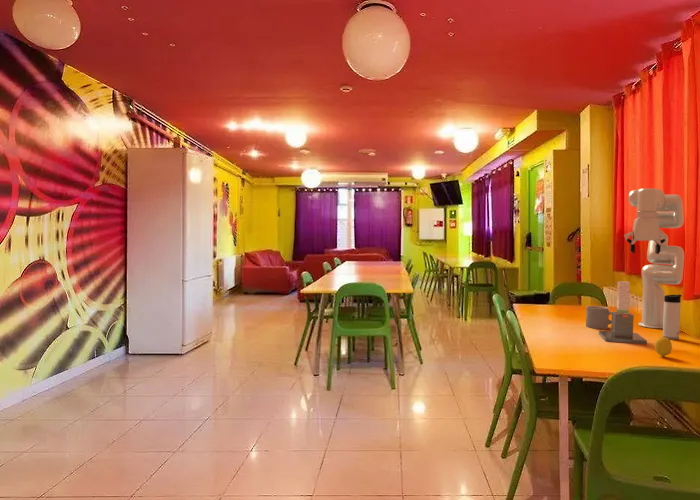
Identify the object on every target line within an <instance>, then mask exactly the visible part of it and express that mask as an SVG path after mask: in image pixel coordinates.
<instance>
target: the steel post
mask: <svg viewBox="0 0 700 500" xmlns="http://www.w3.org/2000/svg"><path fill="white" fill-rule="evenodd" d="M630 285H631V283H630V282H629V281H621V280H618V281H617V289H616V290H617V291H616V292H617V294H616V295H617V296H616V312H617V314H627V315H629V313H630V293H631V292H630V290H631V289H630V288H631V287H630Z"/></svg>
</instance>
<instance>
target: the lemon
mask: <svg viewBox="0 0 700 500" xmlns="http://www.w3.org/2000/svg"><path fill="white" fill-rule="evenodd" d="M654 349H655V352H656V353H657V354H658V355H660V356H661V357H663V358H664V357H666V356H668V355H670V354H671V352H672V349H673V345H672V342H671V340H670V339H668V338H666V337H664V336H663V335H662V336H661V337H659V338H657V339H656V340H655V343H654Z"/></svg>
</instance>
